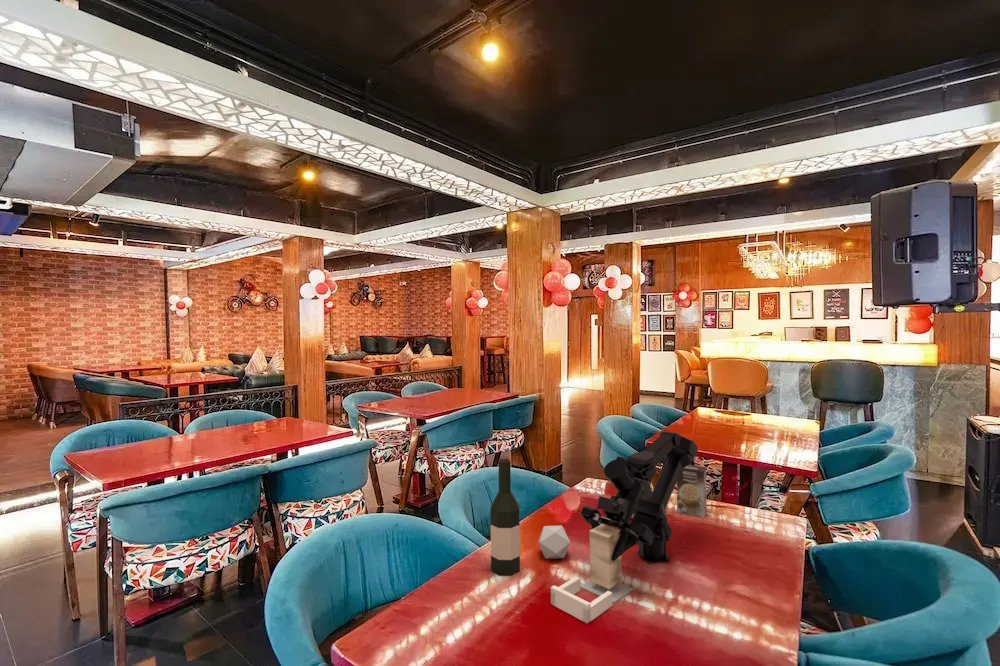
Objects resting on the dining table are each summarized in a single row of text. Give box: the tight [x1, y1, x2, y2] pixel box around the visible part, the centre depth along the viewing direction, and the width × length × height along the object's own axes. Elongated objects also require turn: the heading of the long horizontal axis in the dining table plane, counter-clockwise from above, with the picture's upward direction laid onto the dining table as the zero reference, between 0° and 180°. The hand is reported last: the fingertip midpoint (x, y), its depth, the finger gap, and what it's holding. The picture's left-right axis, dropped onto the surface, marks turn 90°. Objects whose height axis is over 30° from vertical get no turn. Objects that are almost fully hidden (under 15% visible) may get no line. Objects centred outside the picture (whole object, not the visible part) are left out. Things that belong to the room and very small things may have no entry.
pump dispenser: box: [631, 478, 653, 519], centre depth 162 cm, size 10×10×15 cm
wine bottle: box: [489, 456, 521, 577], centre depth 128 cm, size 8×8×30 cm
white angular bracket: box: [550, 576, 614, 624], centre depth 111 cm, size 10×10×4 cm
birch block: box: [589, 524, 623, 589], centre depth 118 cm, size 6×6×12 cm
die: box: [537, 525, 571, 560], centre depth 135 cm, size 8×9×10 cm
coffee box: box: [676, 464, 707, 519], centre depth 166 cm, size 9×6×16 cm
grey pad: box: [580, 579, 634, 604], centre depth 118 cm, size 8×10×1 cm
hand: (602, 556), depth 117 cm, fingers closed on birch block, 5 cm apart
